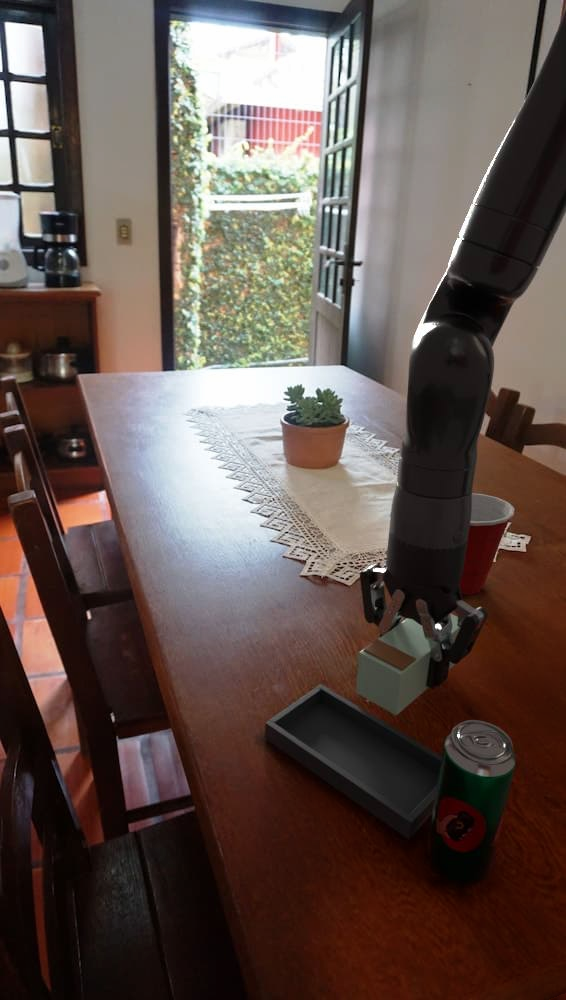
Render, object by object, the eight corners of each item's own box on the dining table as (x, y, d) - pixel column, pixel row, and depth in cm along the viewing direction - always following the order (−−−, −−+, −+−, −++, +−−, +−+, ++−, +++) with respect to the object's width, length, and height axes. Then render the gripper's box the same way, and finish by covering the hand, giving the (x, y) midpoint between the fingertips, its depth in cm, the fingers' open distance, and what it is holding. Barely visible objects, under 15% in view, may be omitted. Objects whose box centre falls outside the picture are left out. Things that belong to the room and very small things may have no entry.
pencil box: (423, 640, 79) (428, 601, 77) (462, 659, 76) (468, 618, 74) (355, 692, 70) (358, 650, 68) (396, 716, 67) (401, 672, 65)
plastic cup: (434, 558, 101) (445, 482, 96) (508, 579, 96) (523, 500, 91) (407, 588, 92) (418, 507, 88) (487, 613, 87) (502, 528, 83)
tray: (319, 698, 71) (320, 683, 70) (459, 784, 61) (462, 768, 60) (264, 738, 65) (265, 722, 64) (408, 840, 55) (411, 822, 54)
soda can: (501, 887, 51) (530, 765, 47) (435, 890, 51) (458, 767, 46) (478, 831, 56) (503, 715, 51) (418, 833, 56) (437, 716, 51)
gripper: (516, 540, 64) (489, 687, 71) (389, 497, 73) (376, 631, 80) (477, 566, 59) (452, 722, 66) (346, 517, 68) (336, 659, 75)
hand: (410, 671), depth 73 cm, fingers closed on pencil box, 5 cm apart
